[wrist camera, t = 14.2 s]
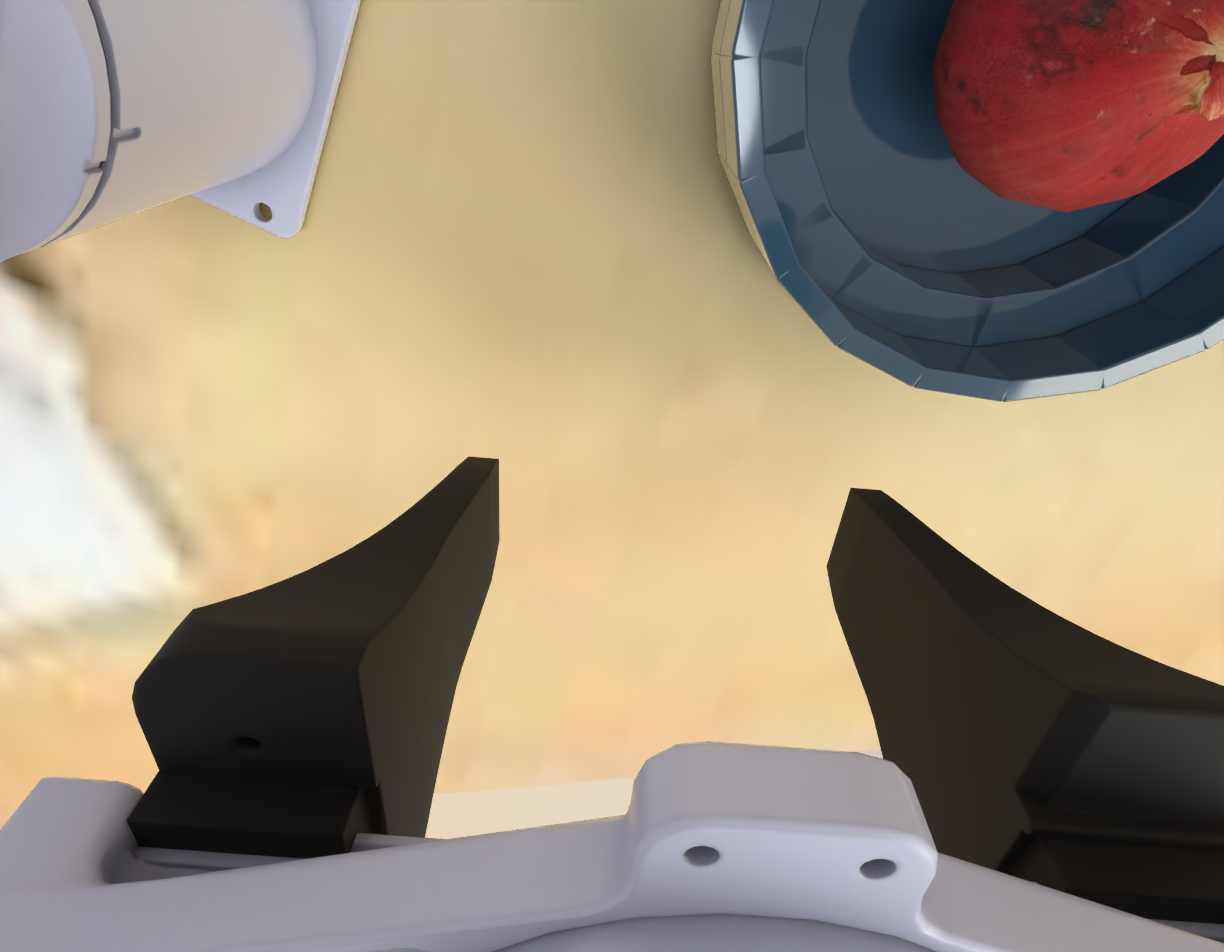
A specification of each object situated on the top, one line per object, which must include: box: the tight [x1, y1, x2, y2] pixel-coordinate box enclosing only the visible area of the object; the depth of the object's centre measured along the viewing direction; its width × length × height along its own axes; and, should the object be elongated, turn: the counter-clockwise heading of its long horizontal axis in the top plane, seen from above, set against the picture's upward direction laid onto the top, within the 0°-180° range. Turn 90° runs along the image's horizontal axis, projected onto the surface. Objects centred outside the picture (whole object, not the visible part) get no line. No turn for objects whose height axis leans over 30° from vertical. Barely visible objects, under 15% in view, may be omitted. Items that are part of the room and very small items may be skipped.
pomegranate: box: [933, 0, 1224, 212], centre depth 14 cm, size 6×6×8 cm
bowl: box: [711, 0, 1224, 402], centre depth 16 cm, size 15×15×5 cm
